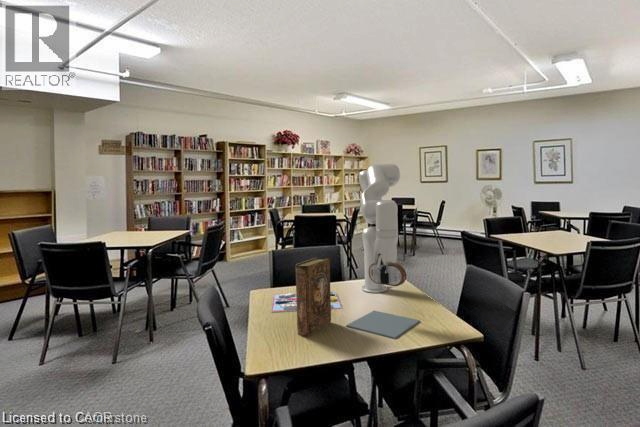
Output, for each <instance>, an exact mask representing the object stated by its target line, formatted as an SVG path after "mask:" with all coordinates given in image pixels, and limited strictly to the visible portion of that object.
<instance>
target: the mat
mask: <svg viewBox="0 0 640 427" xmlns="http://www.w3.org/2000/svg"><path fill="white" fill-rule="evenodd" d="M420 322H421V320H420V319H417V318H416V319H415V318H412V317H411V318H410V317H406V316H401V315H397V314H391V313H388V312H383V311H377V310H373V311H370V312H369V313H367V314H365V315H363V316H361V317H359V318H358V319H356V320H354V321H352V322H349V323H348V324H346V327H347V328H350V329H354V330H358V331H362V332H365V333H370V334H373V335H377V336H381V337H385V338H389V339H393V340H396V339H398V338H399V337H401V335H403V334H405V333H406V332H407V331H409V330H410V329H412V328H413V327H414V326H416V325H417V324H419V323H420Z"/></svg>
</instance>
